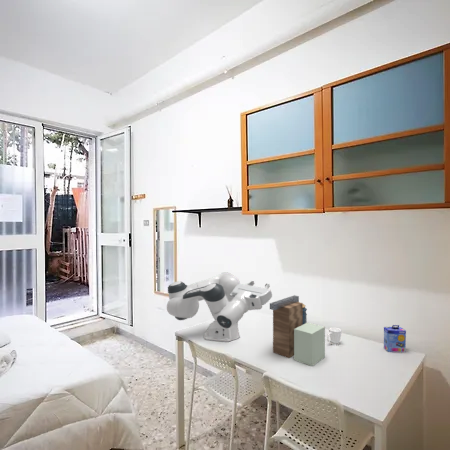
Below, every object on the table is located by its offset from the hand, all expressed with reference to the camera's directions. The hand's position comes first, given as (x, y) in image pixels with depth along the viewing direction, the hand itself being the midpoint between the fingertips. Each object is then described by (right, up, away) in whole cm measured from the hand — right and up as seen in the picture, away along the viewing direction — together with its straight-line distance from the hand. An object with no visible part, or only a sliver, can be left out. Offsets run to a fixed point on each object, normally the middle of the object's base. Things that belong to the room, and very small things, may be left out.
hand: (260, 283), depth 149 cm
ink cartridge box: (+76, -41, +17) cm, 88 cm away
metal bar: (+15, -14, +14) cm, 25 cm away
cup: (+46, -41, +26) cm, 67 cm away
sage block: (+26, -40, +7) cm, 49 cm away
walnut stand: (+17, -40, +16) cm, 47 cm away
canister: (+32, -41, +58) cm, 77 cm away
